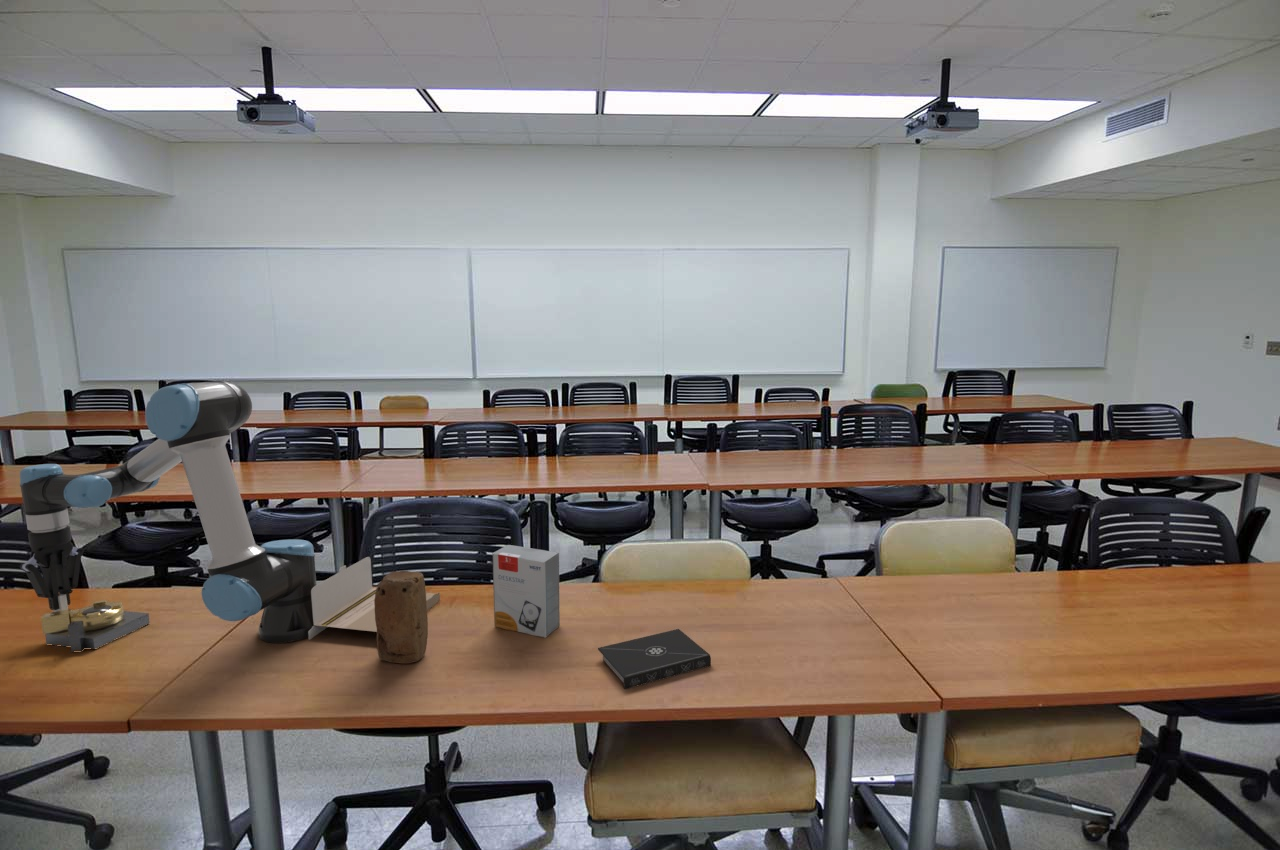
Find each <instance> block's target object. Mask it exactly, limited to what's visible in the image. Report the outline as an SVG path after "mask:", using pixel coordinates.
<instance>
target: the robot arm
mask: <svg viewBox="0 0 1280 850" xmlns="http://www.w3.org/2000/svg"><path fill="white" fill-rule="evenodd" d="M252 411H253V403H252V398H251V397H250V395H249V393H248V392H247V391H246V390H245V389H244V388H243V387H242V386H240V385H238V384H236V383H234V382H231V381H227V380H215V381H213V380H212V381H204V382H200V381H199V382H187V383H185V382H184V383H177V384H172V385H167V386H163V387H161V388H159V389H157V390H156V391H155V392H154V393H152V395H151V396H150V398H149V401H148V402H147V403H146V406H145V414H144V417H145V422H146V425H147V428H148V430H149V431H150V433H151V434H153V435H155V437H156V438H157V439H156V440H154V441H153V442H152V443H151V444H149V445H148V446H147V447H145V448H144V449H142V450H141V451H139V452H137V454H135V455H133V456H132V457H131V458H130V459H128V460H126V462H124V463H122V464H121V465H117V466H113V467H109V468H105V469H100V470H95V471H89V472H86V473H81V474H80V473H79V474H64V471H63V468H62V466H61V465H59V464H57V463H43V464H36V465H35V464H34V465H29V466H26V467H24V468H22V469H20V471H19V480H20V484H19V487H20V492H21V497H22V503H23V510H24V514H25V521H26V526H27V527H26V528H27V530H28V531H29V532H28V533H27V536H28V543H29V547H30V548H31V553H30V556H29V557H30V558H29V559H28V560H27V561H26V562H25V563H20V565H19V568H20V569H21V570H22V571H23V572H24V573H26V576H27V578H28V580H29V581H30V584H31V586H32V588H33V590H34V592H35V594H36V596H37V597H38V598H45V599H47V600H48V606H49V609H50V610H51V611H53V612H57V611H63V610H69V606H70V605H71V599H70V598H71V596H70V595H71V594H72V593H73V591H74V590H73V589H76V588H77V587H78V585H79V578H80V571H81V570H80V568H81V561H82V556H83V554H84V553H85V548H83V547H77V546H74V544H73V543H72V542H71V540H72V531H71V526H69V524H70V523H71V522H70V517H69V516H70V515H69V510H68V508H69V507H72V508H73V507H74V508H78V509H79V508H80V509H87V508H98V507H101V506H103V505H104V504H105V503H106V502H107V501H109V500H113V499H117V498H120V497H123V496H127V495H132V494H135V493H136V494H137V493H141V492H142V493H143V492H145V491H147V490H149V489H152V488H154V487H156V486H157V485H158V483H159V481H160V478H161V476H163V475H165V474H166V473H167V472H169V471H170V470H171V469H173V468H175V467H177V465H179V464H180V463H182V465H183V466H182V467H183V469H184V472H185V475H186V478H187V481H188V484H189V488H190V490H191V494H192V497H193V499H194V504H195V506H196V510H197V512H198V516H199V519H200V522H201V525H202V528H203V531H204V536H205V538H206V542H207V544H208V548H209V551H210V554H211V560H210V561H209V562H208V565H206V569H207V573H208V576H209V577H208V578H207V580H205V581H204V582H203V585H202V588H201V593H200V594H201V598H202V601H203V604H204V605H205V607H206V608H207V610H208V611H209V612H210V613H211V614H212V615H213V616H215V617H218V618H219V619H220V620H223V621H226V622H239V621H243V620H245V619H247V618H249V617H253V616H255V615H256V614H258V613H259V612H260V611H261V610H263V612H262V615H261V620H260V624H259V626H258V633H259V638H260V640H262V641H263V642H266V643H269V644H270V643H271V644H283V643H292V642H297V641H301V640H304V639H307V638H309V636H308V631H309V630H310V629H311V628H312V626H314V624H313V611H312V598H311V590H312V588H313V587H314V586H316V585H317V576H316V573H317V572H316V562H315V557H316V555H315V551H314V545H313V544H312V543H311V542H310V541H309V540H304V539H291V538H290V539H279V540H271V541H268V542H265V543H263V544H260V545H258V544H256V541H255V539H254V536H253V533H252V529H251V525H250V523H249V522H250V521H249V518H248V515H247V511H246V509H245V506H244V503H243V502H244V501H243V499H242V496H241V492H240V490H239V486H238V483H237V479H236V476H235V473H234V469H233V466H232V464H231V460H230V457H229V454H228V450H227V446H226V444H227V442H228V441H229V440H230V438H231V434H232V433H233V432H235V431H236V430H237V429H239V428H241V426H243V425H244V424H245V423H246V422H247V421H248V420H249V419H250V416H251V415H252ZM38 568H40V570H41V571H40V570H39V569H38ZM41 572H42V574H41Z"/></svg>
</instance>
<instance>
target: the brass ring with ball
mask: <svg viewBox="0 0 1280 850" xmlns="http://www.w3.org/2000/svg"><path fill="white" fill-rule="evenodd" d="M124 611H125V610H124V605H123V601H118V602H117V601H112V602H111V601H109V602H108V601H107V599H102V600H96V601H93V604H91V605H87V606H85V607H82V608H78V609H77V608H76V609H72V608H70V609H69V608H68V610H63V611H57V612H46V613H44V614H42V616H41V618H40V621H41V622H40V623H41V628H42V629H41V630H42V634H43V635H45V634H47V633H52V632H58V631H63V630H68V625H69V624H70V623H72V622H73V621H83V624H84V631H90V630H96V629H100V628H104V627H107V626H110V625H113V624H115V623H117V622H119V621H121V620H122V619H123V618H124Z"/></svg>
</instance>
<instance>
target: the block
mask: <svg viewBox="0 0 1280 850" xmlns="http://www.w3.org/2000/svg"><path fill="white" fill-rule="evenodd" d="M376 587H377V589H376V592H375V599H374V605H375V621H376V627H377V632H376V643H377V644H376V649H377V654H378V655H377V656H378V658H379V659H380V660H381V661H384V662H385V661H387V662H388V663H394V664H412V663H414V662H415V663H417V662H418V661H420V660H421V659H422V658H423V657H424V656H425V654H426V651H427V645H428V638H429V635H428V634H429V631H428V630H429V629H428V628H429V622H428V620H429V619H428V610H427V602H426V593H427V592H426V591H427V590H426V583H425V577H424V574H423V573H422V572H419V571H410V570H399V571H398V570H396V571H392V572H389V573H388V574H385V576H383V578H382V580H380V581H379V582H378V584H377V586H376Z"/></svg>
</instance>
